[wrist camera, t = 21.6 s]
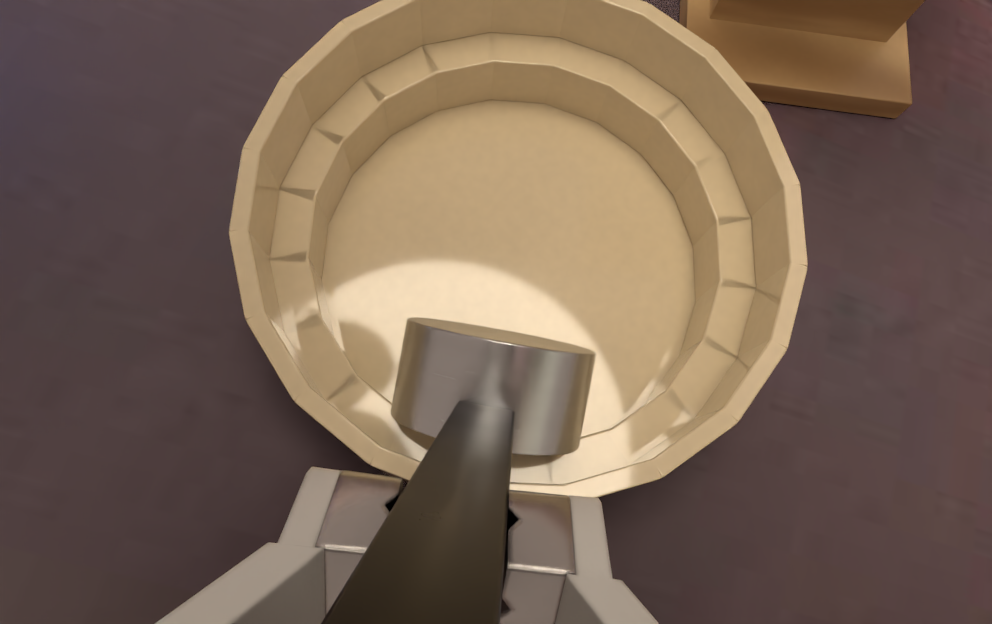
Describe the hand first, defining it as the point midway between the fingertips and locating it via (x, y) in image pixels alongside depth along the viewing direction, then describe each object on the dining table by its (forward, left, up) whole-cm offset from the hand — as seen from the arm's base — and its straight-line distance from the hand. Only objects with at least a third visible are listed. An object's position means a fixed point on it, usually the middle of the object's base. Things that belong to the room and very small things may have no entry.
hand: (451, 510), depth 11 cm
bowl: (+9, +4, -14) cm, 17 cm away
